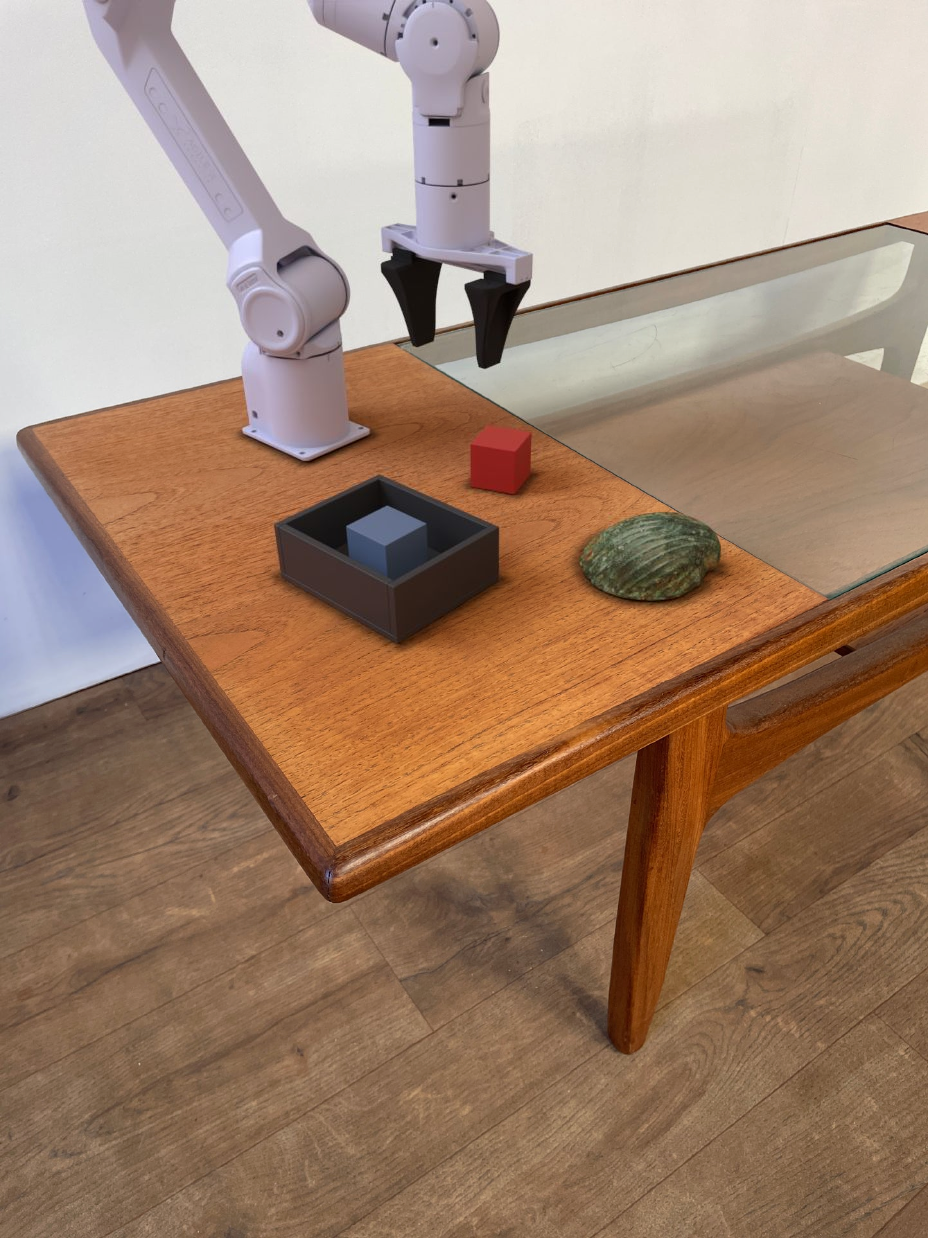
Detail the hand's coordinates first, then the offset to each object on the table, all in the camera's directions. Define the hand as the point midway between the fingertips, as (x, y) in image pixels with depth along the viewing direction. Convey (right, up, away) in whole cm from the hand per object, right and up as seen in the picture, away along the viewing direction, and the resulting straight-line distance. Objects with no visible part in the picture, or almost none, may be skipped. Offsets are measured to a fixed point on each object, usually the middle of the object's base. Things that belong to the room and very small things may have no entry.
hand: (455, 354), depth 81 cm
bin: (-5, -19, -11) cm, 23 cm away
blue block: (-5, -19, -11) cm, 22 cm away
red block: (+4, -10, +2) cm, 11 cm away
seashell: (+14, -18, -10) cm, 25 cm away
